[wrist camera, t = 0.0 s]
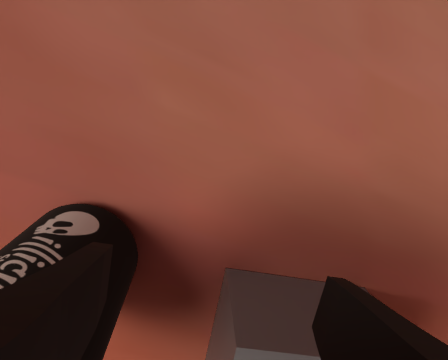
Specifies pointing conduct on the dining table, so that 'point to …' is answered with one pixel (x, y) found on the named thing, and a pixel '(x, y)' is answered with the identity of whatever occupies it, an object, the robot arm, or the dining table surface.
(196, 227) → the dining table surface
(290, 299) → the panel
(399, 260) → the dining table surface
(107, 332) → the beverage can
